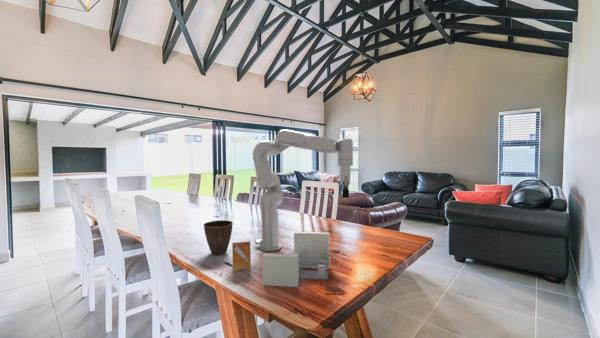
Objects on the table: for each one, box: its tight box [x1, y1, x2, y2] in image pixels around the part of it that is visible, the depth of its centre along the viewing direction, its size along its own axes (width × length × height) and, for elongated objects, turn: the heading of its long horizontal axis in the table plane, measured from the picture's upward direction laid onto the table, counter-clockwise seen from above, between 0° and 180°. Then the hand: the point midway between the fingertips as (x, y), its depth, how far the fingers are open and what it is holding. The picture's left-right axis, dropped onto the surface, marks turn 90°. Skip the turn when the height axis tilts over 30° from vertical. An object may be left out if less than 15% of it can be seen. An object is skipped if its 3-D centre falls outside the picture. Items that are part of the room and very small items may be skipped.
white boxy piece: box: [293, 231, 331, 282], centre depth 122 cm, size 16×14×16 cm
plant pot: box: [203, 220, 233, 256], centre depth 150 cm, size 15×15×16 cm
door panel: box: [261, 252, 300, 288], centre depth 111 cm, size 14×2×12 cm, turn 80°
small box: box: [231, 237, 252, 272], centre depth 129 cm, size 8×6×13 cm
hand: (345, 196), depth 145 cm, fingers open, 9 cm apart
